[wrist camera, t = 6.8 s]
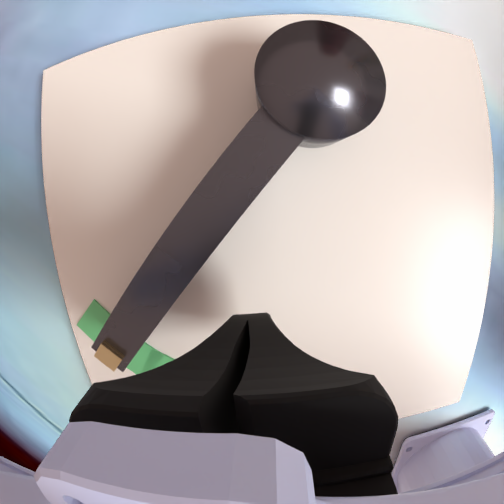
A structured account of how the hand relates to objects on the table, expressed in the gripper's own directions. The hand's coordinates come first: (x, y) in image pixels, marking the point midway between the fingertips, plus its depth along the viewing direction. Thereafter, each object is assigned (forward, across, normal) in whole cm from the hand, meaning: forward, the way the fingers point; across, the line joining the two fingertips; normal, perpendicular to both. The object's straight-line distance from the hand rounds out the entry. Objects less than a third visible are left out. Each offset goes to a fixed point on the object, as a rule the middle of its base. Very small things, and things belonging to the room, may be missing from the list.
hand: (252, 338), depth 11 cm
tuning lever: (+2, +1, -5) cm, 5 cm away
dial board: (+3, -1, -3) cm, 4 cm away
